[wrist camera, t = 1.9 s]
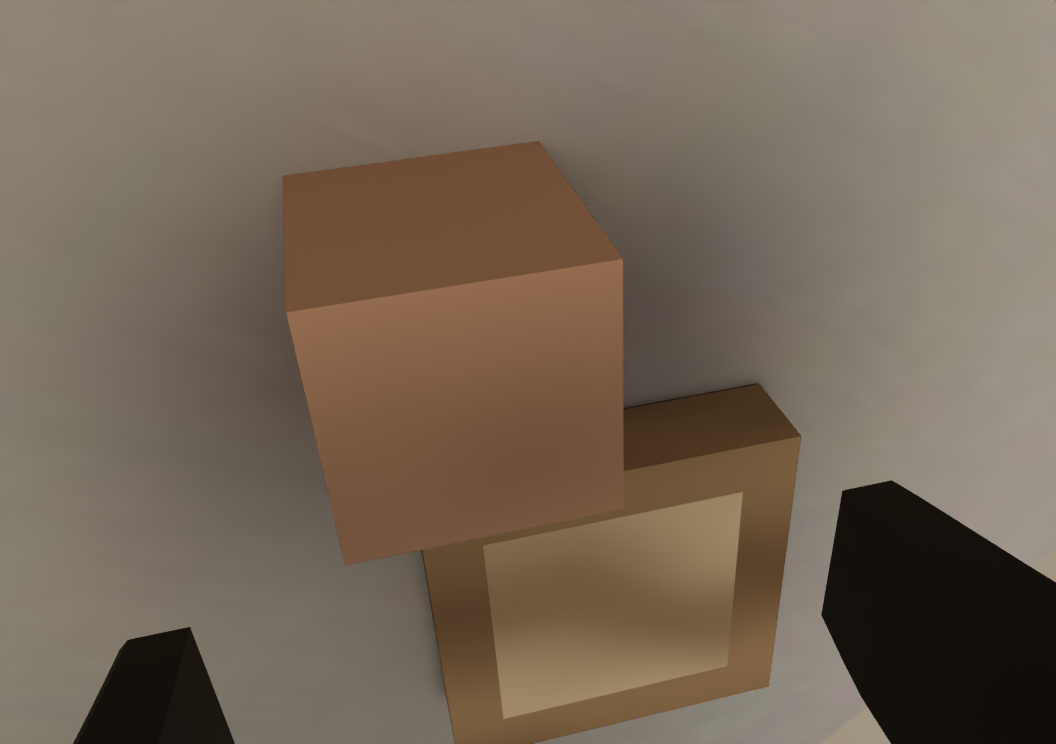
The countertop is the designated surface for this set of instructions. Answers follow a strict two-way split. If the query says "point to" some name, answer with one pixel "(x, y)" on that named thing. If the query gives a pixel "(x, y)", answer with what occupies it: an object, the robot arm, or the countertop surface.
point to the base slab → (627, 583)
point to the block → (455, 346)
